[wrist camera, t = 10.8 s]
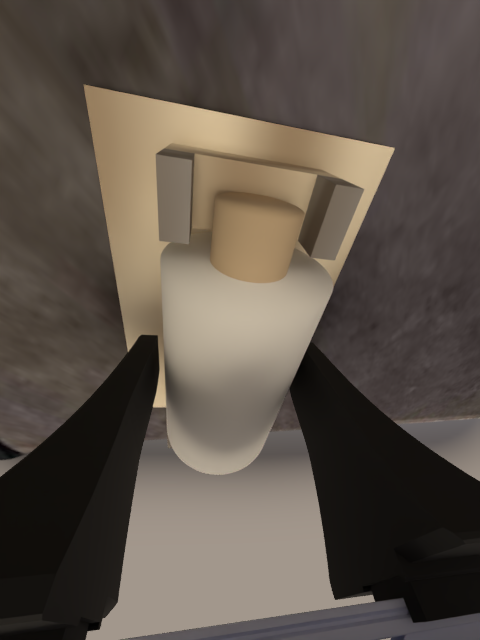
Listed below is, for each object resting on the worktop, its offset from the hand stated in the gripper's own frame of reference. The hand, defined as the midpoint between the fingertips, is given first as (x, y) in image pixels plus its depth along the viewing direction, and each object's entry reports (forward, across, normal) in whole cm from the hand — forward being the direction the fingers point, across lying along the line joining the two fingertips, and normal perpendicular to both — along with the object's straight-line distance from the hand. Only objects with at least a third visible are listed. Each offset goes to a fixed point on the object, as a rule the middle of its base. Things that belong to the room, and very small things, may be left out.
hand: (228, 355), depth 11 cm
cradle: (+3, 0, 0) cm, 3 cm away
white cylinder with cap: (+2, 0, 0) cm, 2 cm away
